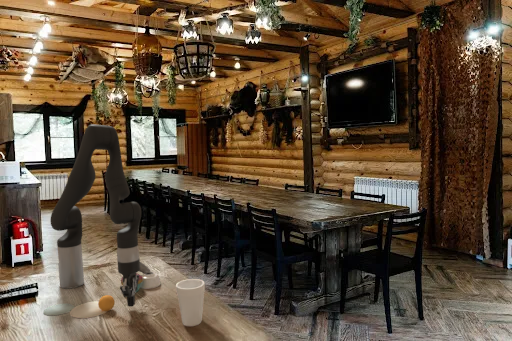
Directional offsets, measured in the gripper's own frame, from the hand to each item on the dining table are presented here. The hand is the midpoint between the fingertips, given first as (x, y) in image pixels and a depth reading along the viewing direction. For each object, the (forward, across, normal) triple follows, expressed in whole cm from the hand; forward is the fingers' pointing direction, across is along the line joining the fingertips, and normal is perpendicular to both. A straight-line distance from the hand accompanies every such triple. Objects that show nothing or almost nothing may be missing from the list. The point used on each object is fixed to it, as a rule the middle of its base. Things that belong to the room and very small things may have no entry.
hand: (131, 305), depth 150 cm
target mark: (+2, 0, +15) cm, 15 cm away
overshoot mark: (+2, 0, +27) cm, 27 cm away
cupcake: (+2, +18, +6) cm, 19 cm away
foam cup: (+2, -10, -24) cm, 26 cm away
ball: (-1, -1, +9) cm, 9 cm away
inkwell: (+2, +26, +5) cm, 26 cm away
